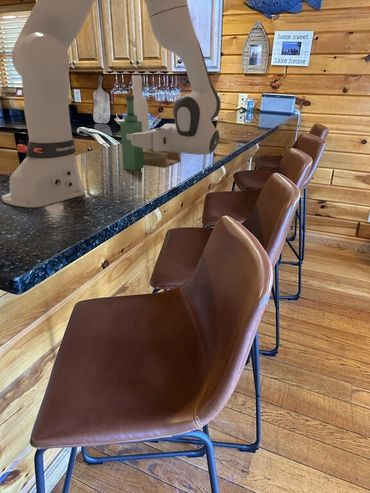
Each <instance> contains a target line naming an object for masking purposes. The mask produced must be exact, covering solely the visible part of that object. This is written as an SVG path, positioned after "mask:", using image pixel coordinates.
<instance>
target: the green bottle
mask: <svg viewBox="0 0 370 493" xmlns="http://www.w3.org/2000/svg"><path fill="white" fill-rule="evenodd" d="M133 99H134V95H133V94H131V95H130V94H126V95H125V101H126V103H125V104H126V105H125V106H126V114H124V115H123V119H124V120H123V121H120V139H121V152H122V155H121V156H122V167H123V169H122V170H127V171H134V172H135V171H138V170H141V169H144V166H145V165H144V163H143V148H141V147H136V146H133V145H132V144H131V140H129V139H127V137H126V135H127V134H129V133H137V132H142V121H138V120H137V115H134V100H133Z"/></svg>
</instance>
